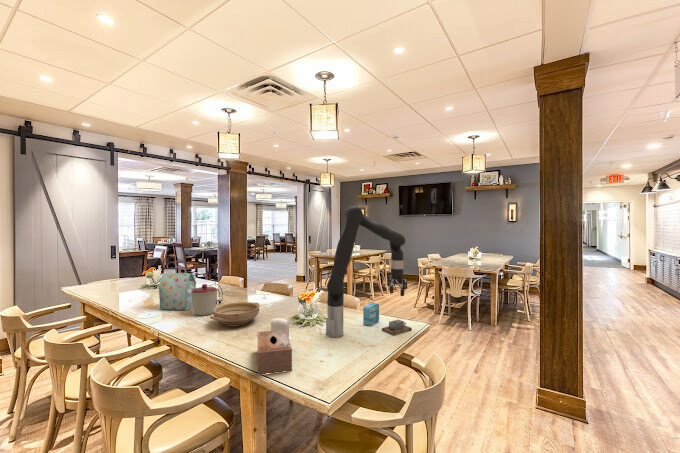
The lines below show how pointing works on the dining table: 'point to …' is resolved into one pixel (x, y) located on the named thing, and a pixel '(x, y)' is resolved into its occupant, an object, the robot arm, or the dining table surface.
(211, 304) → the canister
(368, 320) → the data package
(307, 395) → the dining table surface
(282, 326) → the photo printer
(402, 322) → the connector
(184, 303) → the lunch bag
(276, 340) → the tissue box cover
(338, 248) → the robot arm
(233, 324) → the ceramic bowl
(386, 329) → the walnut board
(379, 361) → the dining table surface
